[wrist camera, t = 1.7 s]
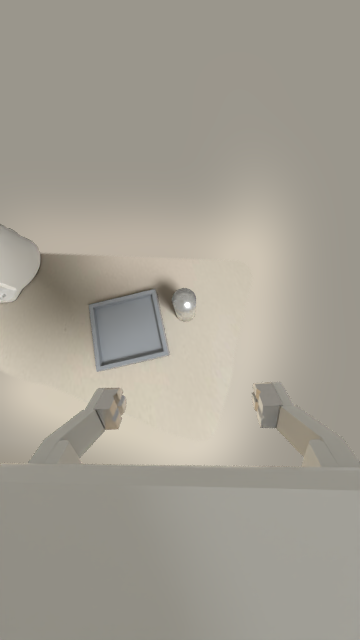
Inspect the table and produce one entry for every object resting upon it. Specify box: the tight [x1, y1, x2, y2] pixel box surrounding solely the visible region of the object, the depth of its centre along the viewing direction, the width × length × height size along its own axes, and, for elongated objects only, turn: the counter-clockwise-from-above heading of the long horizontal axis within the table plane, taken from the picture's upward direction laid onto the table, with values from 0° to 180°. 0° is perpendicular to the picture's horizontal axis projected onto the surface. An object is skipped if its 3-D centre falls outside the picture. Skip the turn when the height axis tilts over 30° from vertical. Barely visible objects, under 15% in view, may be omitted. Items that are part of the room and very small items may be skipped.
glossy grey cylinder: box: [172, 288, 196, 322], centre depth 35 cm, size 4×4×8 cm
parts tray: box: [89, 289, 170, 372], centre depth 38 cm, size 14×14×2 cm
